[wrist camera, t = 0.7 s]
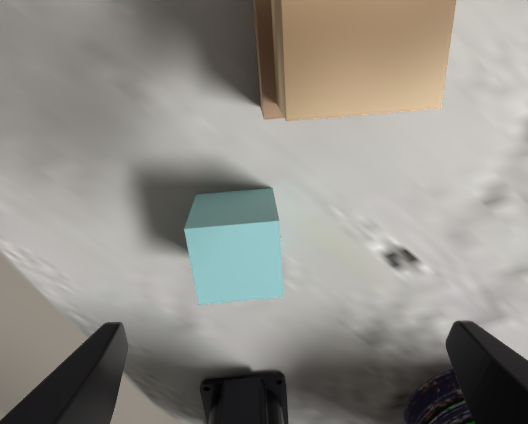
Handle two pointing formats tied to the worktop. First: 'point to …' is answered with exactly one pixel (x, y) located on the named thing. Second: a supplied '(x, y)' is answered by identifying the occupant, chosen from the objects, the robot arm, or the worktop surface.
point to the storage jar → (438, 402)
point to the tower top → (360, 56)
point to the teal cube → (235, 246)
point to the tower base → (265, 59)
